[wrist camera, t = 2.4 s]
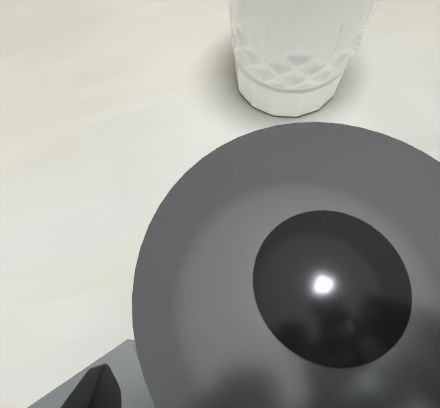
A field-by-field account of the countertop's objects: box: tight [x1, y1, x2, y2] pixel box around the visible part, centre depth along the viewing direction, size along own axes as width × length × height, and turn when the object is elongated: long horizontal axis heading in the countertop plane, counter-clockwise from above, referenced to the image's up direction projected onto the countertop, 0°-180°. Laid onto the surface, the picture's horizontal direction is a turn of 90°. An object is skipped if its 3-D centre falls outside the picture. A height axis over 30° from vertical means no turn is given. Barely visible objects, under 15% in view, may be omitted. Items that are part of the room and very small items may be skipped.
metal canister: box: [132, 122, 440, 408], centre depth 10 cm, size 5×5×13 cm
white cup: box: [229, 0, 379, 117], centre depth 18 cm, size 8×8×10 cm
